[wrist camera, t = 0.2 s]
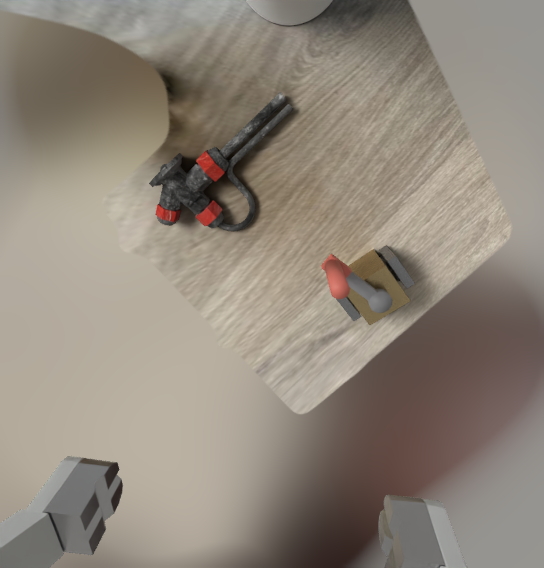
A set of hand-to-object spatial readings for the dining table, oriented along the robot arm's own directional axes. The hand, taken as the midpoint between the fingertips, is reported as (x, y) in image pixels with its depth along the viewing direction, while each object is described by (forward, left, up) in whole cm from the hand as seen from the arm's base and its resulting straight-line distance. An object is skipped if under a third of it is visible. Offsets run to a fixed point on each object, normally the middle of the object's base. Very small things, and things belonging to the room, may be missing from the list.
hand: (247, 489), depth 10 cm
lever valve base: (+11, +15, -47) cm, 51 cm away
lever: (+9, +11, -38) cm, 41 cm away
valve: (-4, -8, -48) cm, 49 cm away
